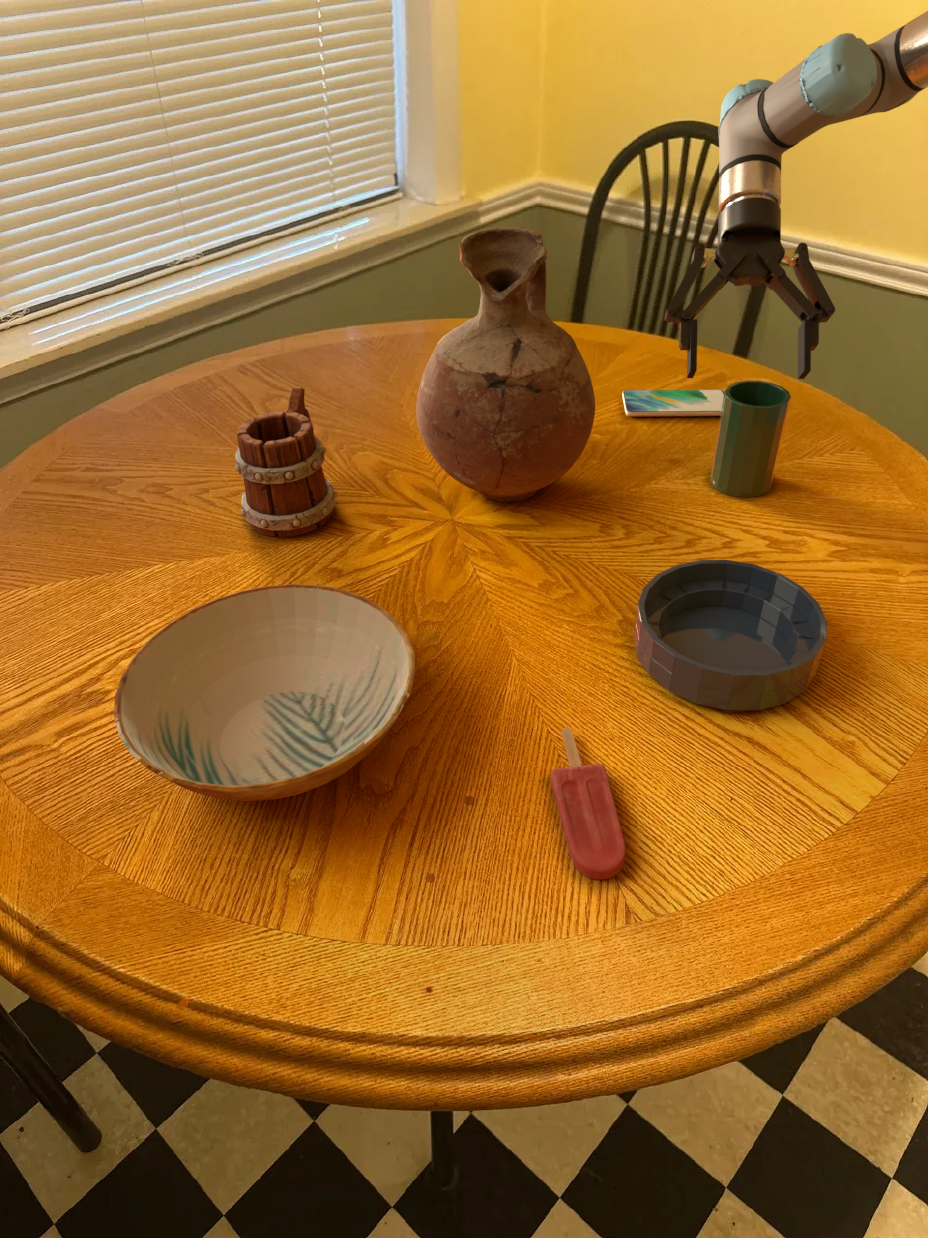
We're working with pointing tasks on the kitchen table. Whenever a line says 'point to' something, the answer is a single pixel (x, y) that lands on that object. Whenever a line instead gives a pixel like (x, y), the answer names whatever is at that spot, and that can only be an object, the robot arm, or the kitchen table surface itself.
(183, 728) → the bowl
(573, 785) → the popsicle
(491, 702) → the kitchen table surface
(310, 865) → the kitchen table surface
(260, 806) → the kitchen table surface
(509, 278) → the jug
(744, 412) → the green cup
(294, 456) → the mug
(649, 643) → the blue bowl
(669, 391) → the smartphone
